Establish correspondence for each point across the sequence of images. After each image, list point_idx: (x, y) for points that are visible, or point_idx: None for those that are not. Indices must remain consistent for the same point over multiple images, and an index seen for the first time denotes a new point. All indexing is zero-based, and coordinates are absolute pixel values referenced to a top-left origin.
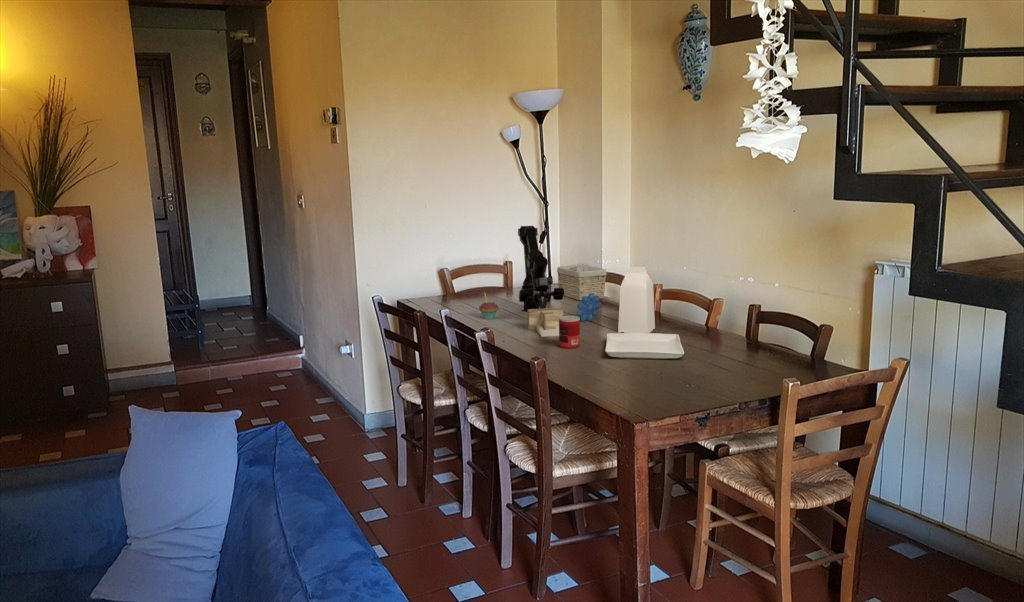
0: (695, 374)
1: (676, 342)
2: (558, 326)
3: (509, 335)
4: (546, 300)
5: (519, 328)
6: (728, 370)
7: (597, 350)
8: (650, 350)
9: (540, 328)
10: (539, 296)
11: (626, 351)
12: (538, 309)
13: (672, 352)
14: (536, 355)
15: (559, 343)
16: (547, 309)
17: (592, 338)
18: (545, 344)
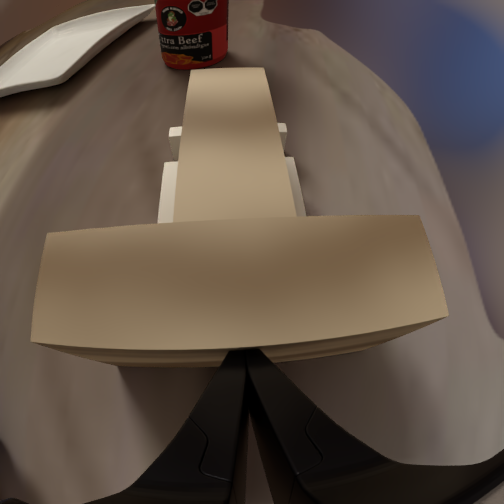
0: (88, 12)
1: (3, 71)
2: (165, 184)
3: (430, 203)
4: (176, 458)
5: (411, 354)
6: (48, 28)
7: (140, 42)
8: (54, 51)
9: (289, 158)
10: (389, 491)
11: (123, 8)
12: (331, 301)
13: (64, 23)
14: (296, 32)
15: (227, 45)
16: (205, 280)
17: (82, 116)
18: (269, 73)
